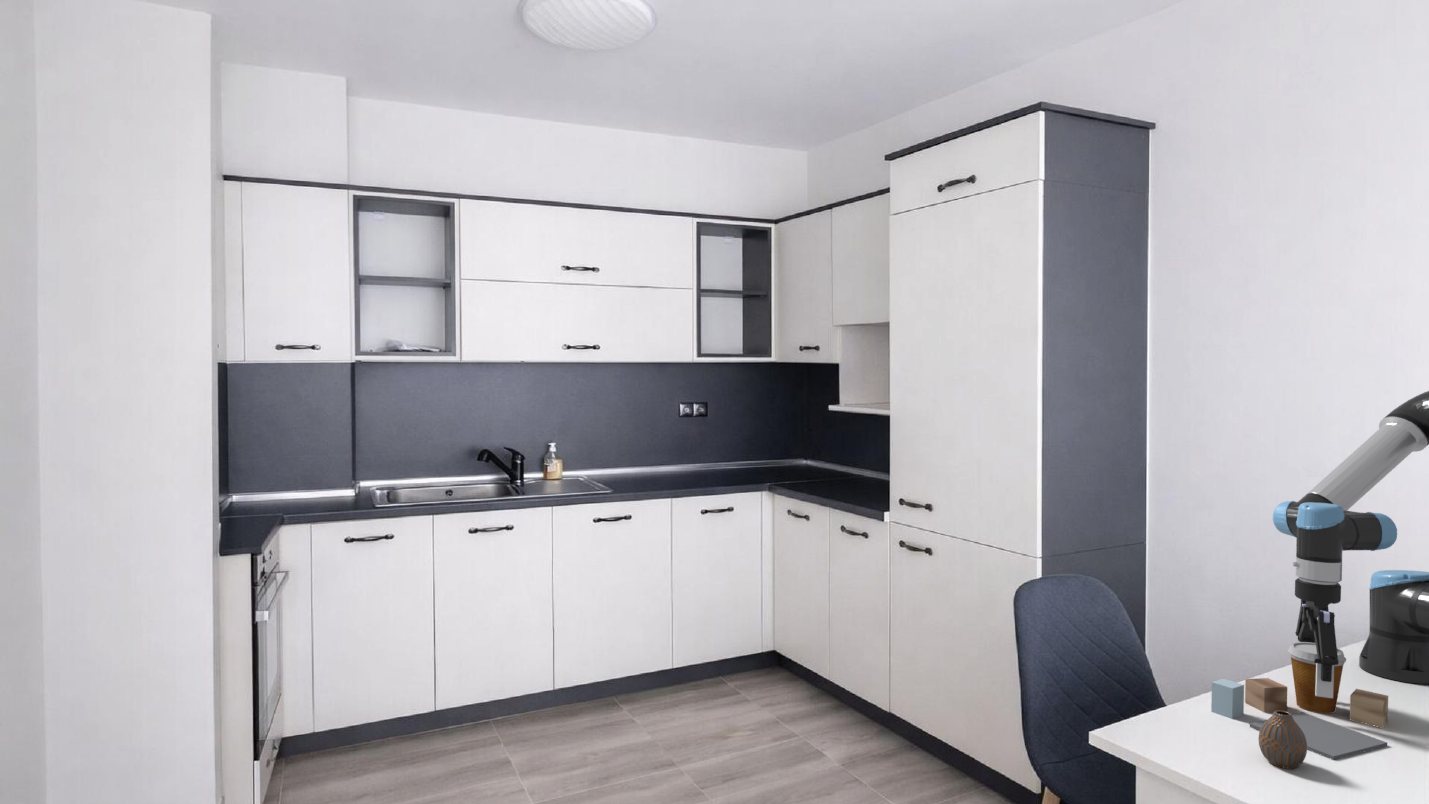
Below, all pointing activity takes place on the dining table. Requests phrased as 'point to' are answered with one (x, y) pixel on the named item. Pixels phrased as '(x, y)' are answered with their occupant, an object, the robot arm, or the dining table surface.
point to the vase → (1282, 740)
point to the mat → (1331, 737)
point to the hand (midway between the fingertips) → (1314, 685)
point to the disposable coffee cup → (1312, 678)
